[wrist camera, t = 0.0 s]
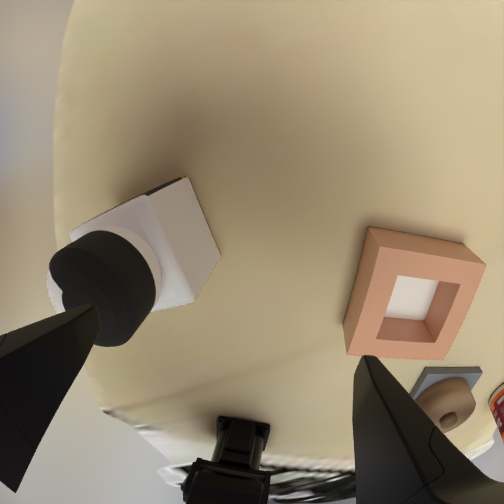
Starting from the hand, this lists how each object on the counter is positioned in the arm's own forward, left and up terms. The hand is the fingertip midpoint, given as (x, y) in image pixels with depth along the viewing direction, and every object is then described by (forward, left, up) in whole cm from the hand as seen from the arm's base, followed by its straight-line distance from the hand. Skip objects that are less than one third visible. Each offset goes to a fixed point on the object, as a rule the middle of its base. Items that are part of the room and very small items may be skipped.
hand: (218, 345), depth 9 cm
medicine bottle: (-2, +8, -15) cm, 17 cm away
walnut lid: (-17, -22, -14) cm, 31 cm away
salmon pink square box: (-4, -12, -15) cm, 19 cm away
